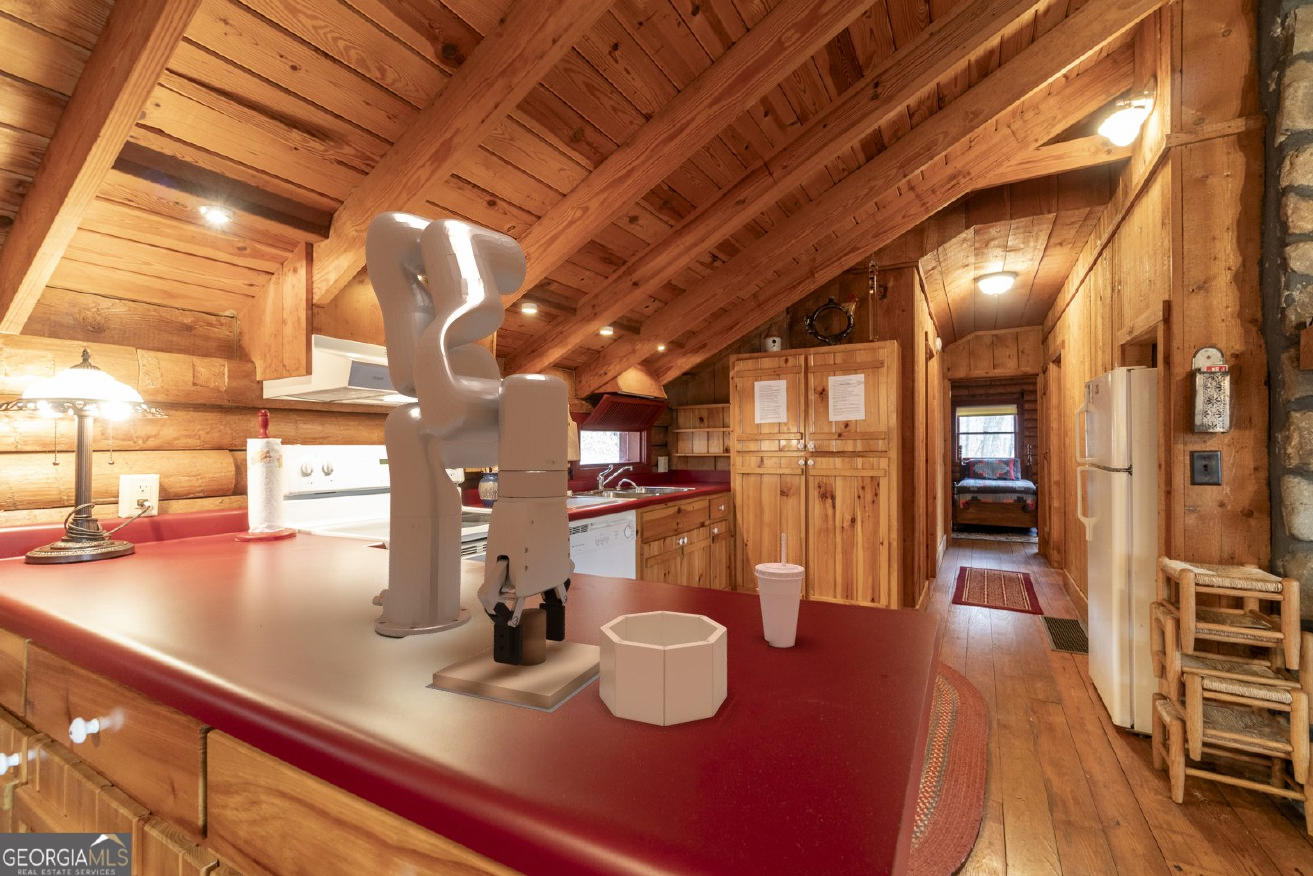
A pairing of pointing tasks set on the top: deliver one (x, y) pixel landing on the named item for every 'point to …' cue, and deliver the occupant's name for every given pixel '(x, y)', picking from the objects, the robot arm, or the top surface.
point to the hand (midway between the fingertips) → (531, 649)
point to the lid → (526, 668)
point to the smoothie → (780, 599)
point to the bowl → (663, 667)
